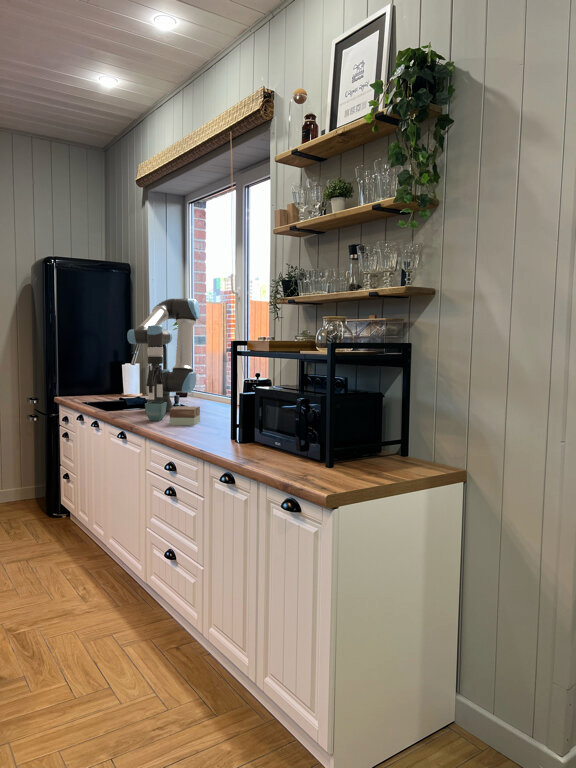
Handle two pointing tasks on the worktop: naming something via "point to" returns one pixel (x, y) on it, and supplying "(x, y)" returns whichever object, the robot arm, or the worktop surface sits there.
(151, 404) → the flower pot
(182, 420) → the tower base
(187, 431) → the worktop surface
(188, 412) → the tower top
